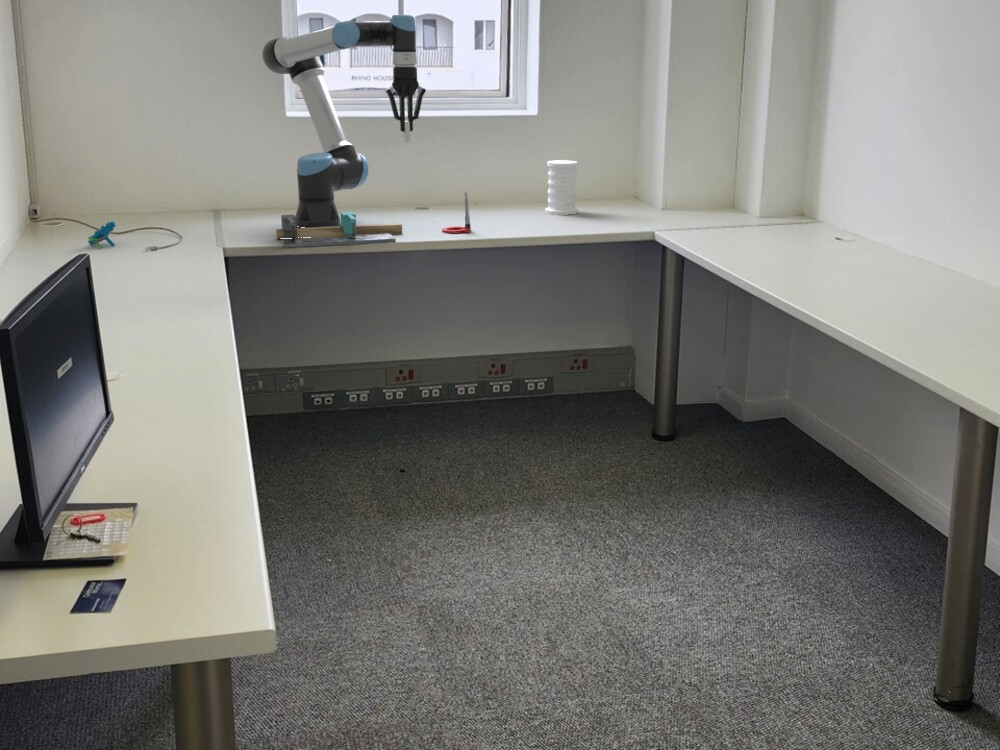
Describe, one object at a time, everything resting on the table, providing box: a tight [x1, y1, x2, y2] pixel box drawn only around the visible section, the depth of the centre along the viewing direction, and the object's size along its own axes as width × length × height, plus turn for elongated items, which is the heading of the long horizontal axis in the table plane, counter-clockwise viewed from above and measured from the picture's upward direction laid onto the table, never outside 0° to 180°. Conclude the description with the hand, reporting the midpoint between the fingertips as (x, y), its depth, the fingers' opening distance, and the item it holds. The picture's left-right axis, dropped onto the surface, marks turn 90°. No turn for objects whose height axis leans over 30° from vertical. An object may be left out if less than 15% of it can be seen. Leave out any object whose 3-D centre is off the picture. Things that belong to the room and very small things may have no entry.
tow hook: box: [441, 191, 472, 234], centre depth 368 cm, size 8×13×9 cm
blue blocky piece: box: [87, 220, 116, 250], centre depth 343 cm, size 11×6×10 cm
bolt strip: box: [281, 233, 397, 249], centre depth 351 cm, size 9×34×1 cm, turn 107°
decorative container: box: [544, 159, 579, 216], centre depth 403 cm, size 12×12×18 cm
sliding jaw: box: [340, 211, 357, 237], centre depth 357 cm, size 12×4×6 cm, turn 17°
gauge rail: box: [275, 214, 403, 240], centre depth 356 cm, size 12×40×7 cm, turn 107°
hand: (406, 141), depth 363 cm, fingers closed
